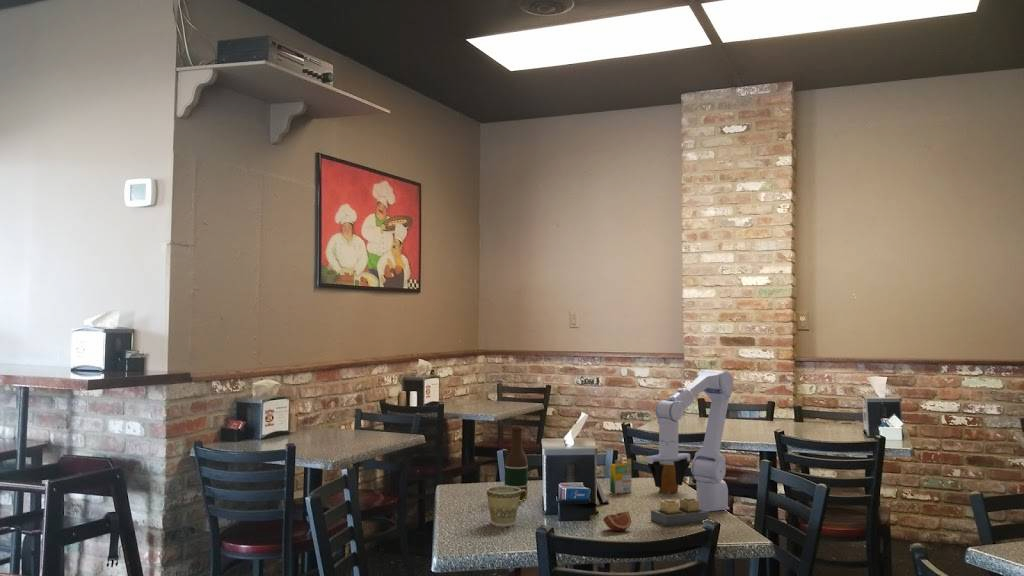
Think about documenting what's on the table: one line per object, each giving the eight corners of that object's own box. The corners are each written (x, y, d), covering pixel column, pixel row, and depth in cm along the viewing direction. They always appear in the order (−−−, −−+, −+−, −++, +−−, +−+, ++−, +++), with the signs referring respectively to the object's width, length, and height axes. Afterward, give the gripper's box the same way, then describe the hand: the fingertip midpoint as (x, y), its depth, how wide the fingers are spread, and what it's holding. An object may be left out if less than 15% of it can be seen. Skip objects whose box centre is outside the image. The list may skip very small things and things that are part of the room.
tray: (692, 515, 244) (692, 494, 244) (708, 522, 237) (708, 500, 237) (650, 520, 238) (651, 498, 238) (666, 526, 231) (666, 504, 231)
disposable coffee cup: (651, 488, 283) (651, 454, 283) (677, 487, 284) (677, 454, 284) (659, 494, 273) (659, 459, 274) (686, 493, 274) (686, 458, 275)
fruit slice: (613, 535, 221) (613, 517, 221) (597, 529, 227) (597, 512, 227) (635, 531, 226) (635, 513, 226) (619, 525, 231) (619, 508, 232)
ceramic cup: (497, 530, 225) (498, 494, 225) (479, 522, 233) (480, 488, 233) (535, 524, 232) (536, 489, 232) (517, 516, 240) (517, 483, 240)
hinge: (610, 504, 258) (601, 475, 257) (598, 510, 256) (589, 481, 255) (587, 493, 274) (578, 466, 273) (575, 498, 272) (566, 471, 271)
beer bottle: (531, 498, 265) (532, 425, 266) (519, 502, 259) (520, 428, 259) (512, 495, 269) (513, 423, 270) (499, 499, 263) (500, 426, 264)
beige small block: (671, 520, 239) (671, 498, 239) (679, 523, 235) (679, 501, 235) (659, 521, 237) (660, 499, 237) (667, 524, 234) (667, 502, 234)
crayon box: (626, 490, 279) (626, 457, 279) (631, 492, 276) (632, 458, 276) (609, 492, 275) (609, 458, 275) (615, 494, 272) (615, 460, 273)
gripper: (680, 437, 248) (680, 481, 247) (641, 440, 242) (641, 485, 242) (694, 440, 241) (694, 485, 241) (654, 443, 236) (654, 489, 235)
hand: (668, 485), depth 241 cm, fingers open, 7 cm apart
